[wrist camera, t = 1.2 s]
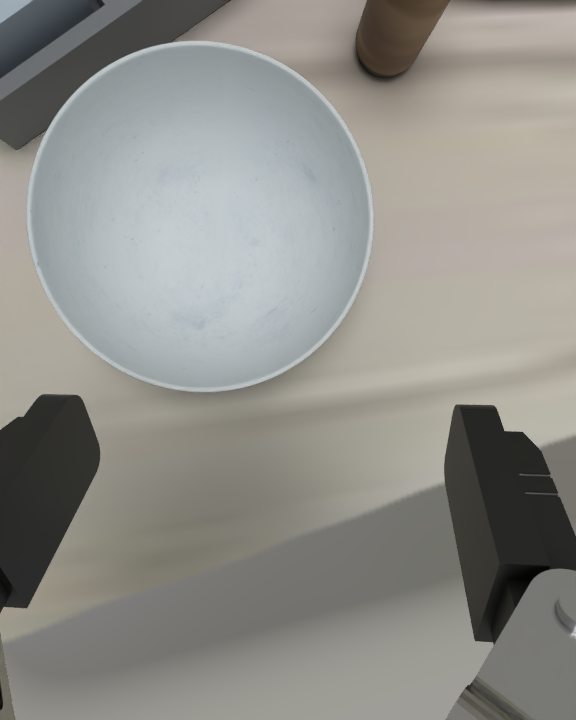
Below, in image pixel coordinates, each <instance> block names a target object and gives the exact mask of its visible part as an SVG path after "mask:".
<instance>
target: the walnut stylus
mask: <svg viewBox="0 0 576 720" xmlns="http://www.w3.org/2000/svg"><path fill="white" fill-rule="evenodd" d="M449 2H450V0H367V2H366V5H365V8H364V11H363V14H362V17H361V21H360V24H359V27H358V30H357V34H356V48H357V52H358V56H359V59H360V62H361V64H362V66H363V67H364V68H365V69H366V70H367V71H368V72H369V73H370V74H372V75H374V76H377V77H381V78H387V77H392V76H394V75H396V74H398V73H401V72H403V71H404V70H406V69H407V68H409V67H410V66H411V65H412V64H413V62H414V61H415V59H416V58H417V56H418V54H419V52H420V51H421V49H422V47H423V46H424V44H425V42H426V41H427V39H428V37H429V36H430V34H431V32H432V30H433V29H434V27H435V25H436V24H437V22H438V20H439V19H440V17H441V15H442V13H443V12H444V10H445V8H446V7H447V5H448V3H449Z"/></svg>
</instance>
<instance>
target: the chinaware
mask: <svg viewBox="0 0 576 720" xmlns="http://www.w3.org/2000/svg"><path fill="white" fill-rule="evenodd" d="M373 230H374V211H373V199H372V192H371V186H370V182H369V177H368V173H367V170H366V167H365V164H364V161H363V158H362V155H361V153H360V150H359V148H358V146H357V144H356V142H355V140H354V138H353V136H352V134H351V132H350V130H349V129H348V127H347V125H346V124H345V122H344V121H343V119H342V118H341V116H340V115H339V113H338V112H337V111H336V110H335V108H334V107H333V106H332V105H331V103H330V102H329V101H328V100H327V99H326V98H325V97H324V96H323V95H322V94H321V93H320V92H319V91H318V90H317V89H316V88H315V87H314V86H313V85H312V84H311V83H309V82H308V81H307V80H306V79H305V78H303V77H302V76H301V75H299V74H298V73H296V72H295V71H294V70H292V69H290V68H289V67H287V66H286V65H284V64H282V63H280V62H279V61H277V60H275V59H273V58H271V57H268V56H266V55H264V54H261V53H259V52H256V51H254V50H250V49H247V48H244V47H240V46H237V45H232V44H227V43H221V42H212V41H181V42H172V43H166V44H161V45H156V46H152V47H149V48H146V49H142V50H140V51H137V52H134V53H132V54H129V55H127V56H125V57H123V58H121V59H119V60H117V61H115V62H113V63H111V64H110V65H108V66H106V67H105V68H103V69H102V70H100V71H99V72H97V73H96V74H95V75H93V76H92V77H91V78H90V79H88V80H87V81H86V82H85V83H84V84H83V85H82V86H81V87H79V88H78V89H77V90H76V91H75V92H74V93H73V95H72V96H71V97H70V98H69V99H68V100H67V101H66V103H65V104H64V105H63V106H62V108H61V109H60V110H59V112H58V113H57V115H56V116H55V118H54V119H53V121H52V122H51V124H50V126H49V128H48V129H47V131H46V133H45V135H44V137H43V139H42V141H41V144H40V146H39V149H38V151H37V154H36V157H35V160H34V163H33V167H32V171H31V175H30V180H29V186H28V194H27V231H28V239H29V245H30V250H31V254H32V258H33V262H34V265H35V269H36V271H37V274H38V277H39V279H40V282H41V284H42V287H43V289H44V291H45V293H46V295H47V297H48V299H49V300H50V302H51V304H52V306H53V307H54V309H55V310H56V312H57V313H58V315H59V316H60V318H61V319H62V320H63V322H64V323H65V324H66V326H67V327H68V328H69V329H70V330H71V332H72V333H73V334H74V335H75V336H76V337H77V338H78V339H79V340H80V341H81V342H82V343H83V344H84V345H85V346H86V347H87V348H88V349H90V350H91V351H92V352H93V353H94V354H96V355H97V356H98V357H100V358H101V359H102V360H104V361H105V362H107V363H108V364H110V365H111V366H113V367H115V368H116V369H118V370H120V371H122V372H124V373H126V374H128V375H130V376H132V377H134V378H136V379H139V380H141V381H144V382H147V383H150V384H153V385H156V386H160V387H164V388H168V389H173V390H179V391H187V392H221V391H229V390H235V389H240V388H244V387H248V386H252V385H255V384H258V383H261V382H264V381H266V380H269V379H271V378H273V377H276V376H278V375H280V374H282V373H284V372H285V371H287V370H289V369H291V368H292V367H294V366H296V365H297V364H299V363H300V362H302V361H303V360H304V359H306V358H307V357H308V356H310V355H311V354H312V353H313V352H314V351H316V350H317V349H318V348H319V347H320V346H321V345H322V344H323V343H324V342H325V341H326V340H327V339H328V338H329V337H330V336H331V334H332V333H333V332H334V331H335V330H336V328H337V327H338V326H339V325H340V323H341V322H342V320H343V319H344V317H345V316H346V314H347V313H348V311H349V310H350V308H351V306H352V304H353V302H354V300H355V299H356V297H357V294H358V292H359V290H360V288H361V285H362V283H363V280H364V277H365V274H366V271H367V267H368V263H369V259H370V254H371V249H372V242H373Z"/></svg>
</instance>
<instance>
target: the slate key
mask: <svg viewBox="0 0 576 720" xmlns="http://www.w3.org/2000/svg"><path fill="white" fill-rule="evenodd" d="M94 12H95V11H94V10H93V8H92V6H91V4H90V2H89V1H88V0H0V78H2V77H3V76H5V75H6V74H8V73H9V72H10V71H12V70H13V69H15V68H16V67H17V66H19V65H20V64H22V63H23V62H25V61H26V60H27V59H29V58H30V57H32V56H33V55H34V54H36V53H37V52H39V51H40V50H42V49H43V48H44V47H46V46H47V45H49V44H50V43H52V42H53V41H54V40H56V39H57V38H59V37H60V36H61V35H63V34H64V33H66V32H67V31H69V30H70V29H71V28H73V27H74V26H76V25H77V24H79V23H80V22H81V21H83V20H84V19H86V18H87V17H88V16H90V15H91V14H93V13H94Z"/></svg>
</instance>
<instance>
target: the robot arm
mask: <svg viewBox="0 0 576 720" xmlns="http://www.w3.org/2000/svg"><path fill="white" fill-rule="evenodd" d="M99 461H100V447H99V443H98V440H97V437H96V435H95V432H94V429H93V426H92V424H91V421H90V418H89V416H88V413H87V410H86V407H85V405H84V402H83V400H82V399H81V397H80V396H78V395H54V394H44V395H41V396H39V397H38V398H37V399H36V401H35V402H34V403H33V405H32V406H31V407H30V409H29V410H28V411H27V413H26V414H25V416H24V417H17V418H16V419H14V420H13V421H12V422H10V423H9V424H8V425H6V426H5V427H4V428H2V429H1V430H0V612H1V611H2V609H3V607H15V608H27V607H28V605H29V603H30V602H31V600H32V598H33V596H34V594H35V592H36V590H37V588H38V586H39V584H40V582H41V580H42V578H43V576H44V574H45V572H46V570H47V568H48V566H49V564H50V562H51V560H52V558H53V556H54V554H55V553H56V551H57V549H58V547H59V545H60V543H61V541H62V539H63V537H64V535H65V533H66V531H67V529H68V527H69V525H70V523H71V521H72V519H73V517H74V515H75V513H76V511H77V509H78V507H79V505H80V504H81V502H82V500H83V498H84V496H85V494H86V492H87V490H88V488H89V486H90V484H91V482H92V480H93V478H94V476H95V474H96V472H97V469H98V466H99ZM444 474H445V486H446V491H447V496H448V502H449V507H450V512H451V517H452V522H453V528H454V533H455V538H456V544H457V549H458V555H459V560H460V565H461V570H462V576H463V580H464V586H465V592H466V597H467V601H468V607H469V613H470V618H471V623H472V628H473V633H474V639H475V641H483V642H484V641H485V642H493V643H494V646H493V648H492V650H491V651H490V653H489V655H488V657H487V658H486V660H485V662H484V664H483V665H482V667H481V669H480V671H479V672H478V674H477V675H476V677H475V679H474V680H473V682H472V683H471V684H470V685H468V686H467V687H466V688H465V689H464V691H463V692H462V693H461V695H460V696H459V698H458V700H457V702H456V703H455V705H454V706H453V708H452V710H451V711H450V713H449V715H448V716H447V718H446V720H576V536H575V533H574V531H573V528H572V527H571V524H570V521H569V519H568V516H567V514H566V511H565V509H564V506H563V504H562V501H561V499H560V497H558V491H557V489H556V487H555V484H554V482H553V479H552V478H550V472H549V469H548V467H547V464H546V462H545V459H544V457H543V454H542V452H541V451H540V450H539V448H538V447H537V446H536V445H535V444H534V443H533V442H532V441H531V440H530V439H529V438H528V437H527V436H526V435H525V434H524V433H523V432H509V431H504V428H503V426H502V423H501V420H500V417H499V414H498V411H497V409H496V407H495V406H493V405H455V407H454V410H453V415H452V421H451V426H450V432H449V438H448V443H447V449H446V454H445V464H444ZM0 720H15V716H14V711H13V706H12V700H11V694H10V688H9V682H8V676H7V670H6V664H5V658H4V652H3V646H2V640H1V634H0Z"/></svg>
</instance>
